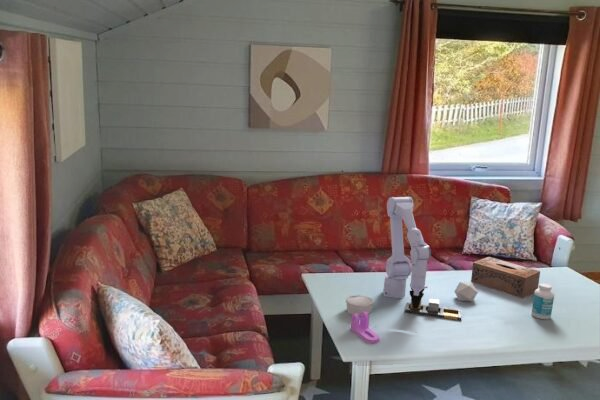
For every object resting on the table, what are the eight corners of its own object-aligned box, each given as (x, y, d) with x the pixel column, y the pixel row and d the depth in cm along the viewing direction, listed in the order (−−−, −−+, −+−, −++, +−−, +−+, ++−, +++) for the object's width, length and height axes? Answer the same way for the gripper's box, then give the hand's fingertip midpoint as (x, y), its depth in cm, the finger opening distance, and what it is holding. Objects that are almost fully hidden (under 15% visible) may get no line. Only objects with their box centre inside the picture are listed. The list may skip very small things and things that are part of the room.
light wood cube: (410, 310, 223) (411, 299, 222) (410, 306, 227) (411, 295, 226) (420, 312, 222) (421, 300, 221) (420, 308, 226) (421, 296, 225)
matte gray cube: (427, 313, 222) (428, 302, 221) (428, 309, 225) (429, 298, 224) (437, 315, 221) (439, 303, 220) (438, 311, 224) (439, 299, 223)
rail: (404, 314, 222) (404, 309, 222) (406, 306, 230) (406, 302, 229) (460, 322, 217) (461, 317, 216) (460, 314, 224) (461, 309, 224)
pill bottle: (542, 321, 221) (546, 289, 218) (527, 314, 227) (531, 283, 224) (554, 318, 224) (559, 287, 221) (539, 311, 231) (544, 281, 228)
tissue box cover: (537, 291, 254) (540, 271, 252) (522, 299, 244) (525, 277, 242) (486, 275, 272) (488, 256, 270) (470, 282, 262) (473, 262, 260)
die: (472, 308, 233) (484, 288, 234) (454, 296, 233) (466, 276, 235) (465, 307, 241) (477, 288, 243) (448, 295, 242) (459, 276, 243)
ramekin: (357, 304, 231) (357, 292, 230) (378, 312, 223) (379, 300, 222) (339, 311, 223) (340, 299, 222) (360, 320, 215) (361, 307, 214)
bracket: (350, 329, 207) (351, 312, 206) (362, 327, 210) (364, 310, 208) (369, 344, 196) (370, 326, 194) (382, 341, 198) (383, 324, 197)
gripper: (427, 281, 214) (424, 314, 217) (429, 269, 227) (426, 300, 230) (409, 279, 215) (406, 311, 218) (412, 267, 229) (409, 298, 232)
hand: (415, 305), depth 224 cm, fingers closed on light wood cube, 4 cm apart
